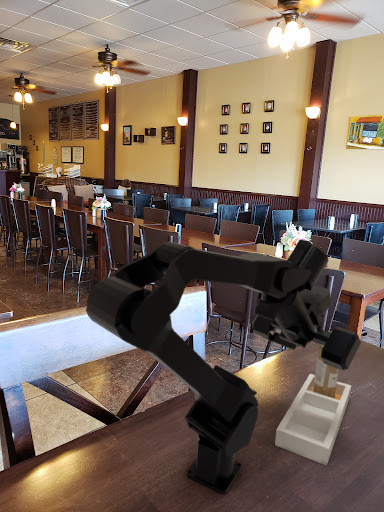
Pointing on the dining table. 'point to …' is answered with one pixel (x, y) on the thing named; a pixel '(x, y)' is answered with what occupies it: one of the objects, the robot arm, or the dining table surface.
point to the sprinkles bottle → (325, 377)
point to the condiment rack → (313, 422)
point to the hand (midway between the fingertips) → (315, 356)
